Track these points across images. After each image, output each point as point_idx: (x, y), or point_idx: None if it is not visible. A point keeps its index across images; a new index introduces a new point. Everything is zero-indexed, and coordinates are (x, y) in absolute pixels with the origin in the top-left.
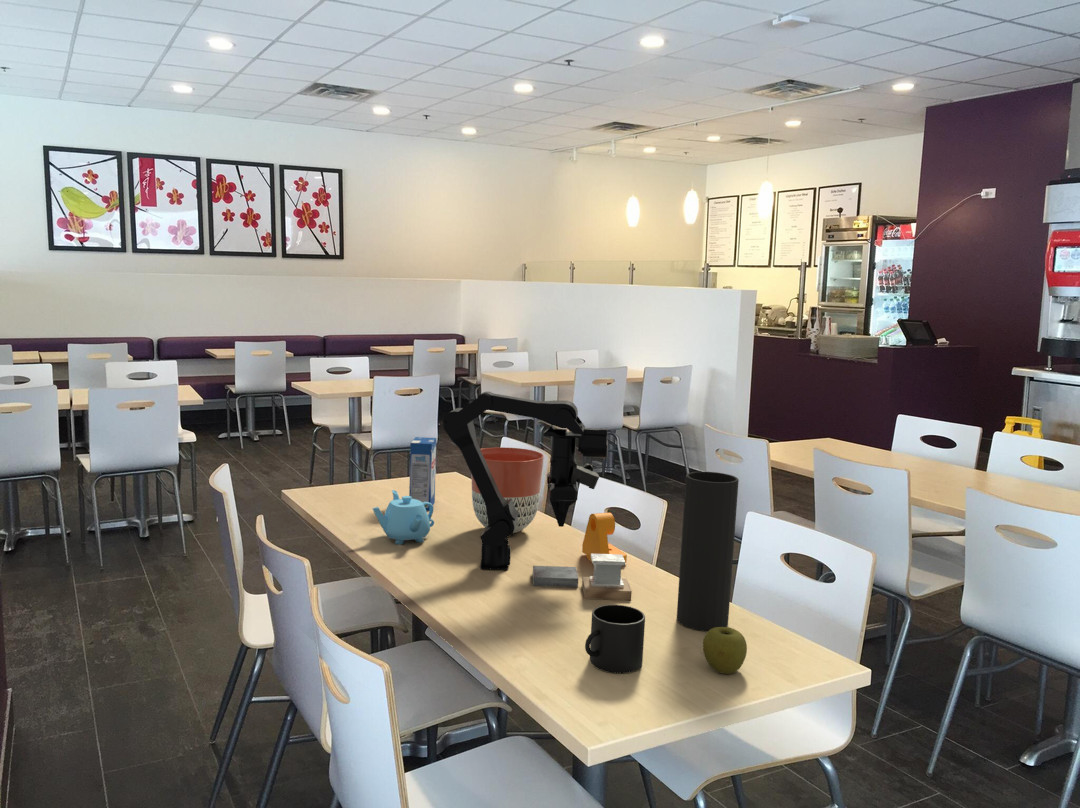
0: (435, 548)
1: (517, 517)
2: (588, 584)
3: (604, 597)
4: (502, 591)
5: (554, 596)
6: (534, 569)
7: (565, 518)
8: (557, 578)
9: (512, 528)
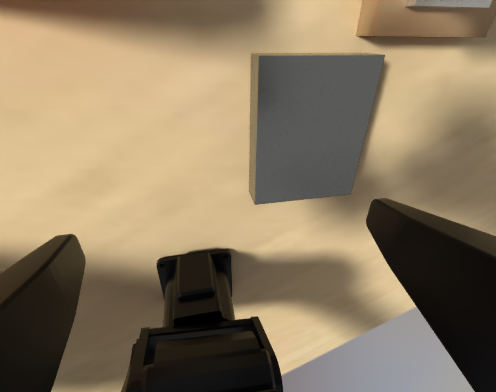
0: (103, 382)
1: (150, 389)
2: (447, 18)
3: None
4: (361, 236)
5: (416, 128)
6: (288, 197)
7: (457, 224)
8: (366, 128)
9: (268, 356)
